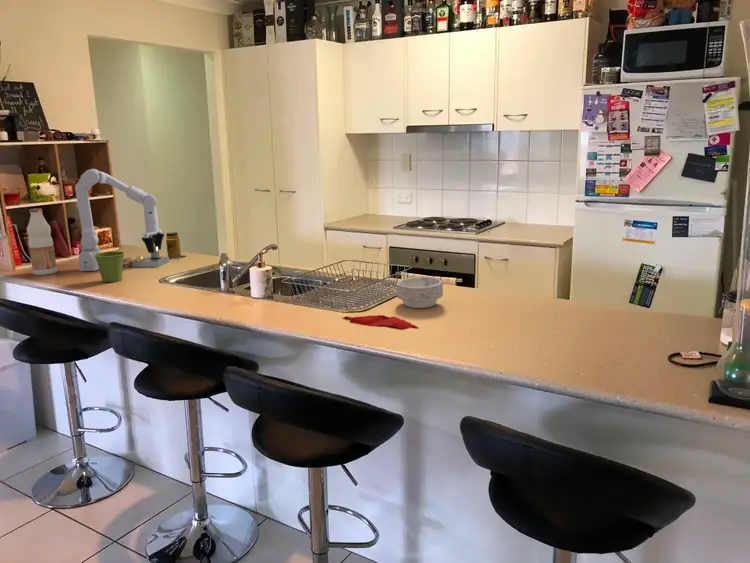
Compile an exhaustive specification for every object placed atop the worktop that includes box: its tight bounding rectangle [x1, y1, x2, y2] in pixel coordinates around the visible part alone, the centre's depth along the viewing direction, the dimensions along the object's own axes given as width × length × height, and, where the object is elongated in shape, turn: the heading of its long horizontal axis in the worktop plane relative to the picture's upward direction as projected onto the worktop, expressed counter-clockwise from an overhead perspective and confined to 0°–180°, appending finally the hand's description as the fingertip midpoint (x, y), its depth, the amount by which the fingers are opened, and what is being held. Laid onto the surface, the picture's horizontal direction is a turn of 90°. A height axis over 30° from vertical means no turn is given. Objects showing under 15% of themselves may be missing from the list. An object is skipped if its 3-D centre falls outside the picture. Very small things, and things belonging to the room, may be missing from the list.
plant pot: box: [94, 250, 126, 283], centre depth 255 cm, size 12×12×11 cm
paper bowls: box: [395, 276, 444, 309], centre depth 207 cm, size 15×15×8 cm
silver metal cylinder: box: [150, 245, 160, 260], centre depth 288 cm, size 4×4×8 cm
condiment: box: [165, 231, 187, 260], centre depth 303 cm, size 7×8×12 cm
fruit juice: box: [26, 208, 58, 276], centre depth 271 cm, size 9×9×28 cm
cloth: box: [341, 314, 420, 330], centre depth 189 cm, size 26×14×2 cm, turn 50°
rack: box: [122, 256, 137, 268], centre depth 289 cm, size 12×7×2 cm, turn 174°
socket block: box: [132, 256, 170, 268], centre depth 287 cm, size 12×12×2 cm
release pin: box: [135, 255, 144, 261], centre depth 284 cm, size 3×3×4 cm
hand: (154, 251), depth 288 cm, fingers open, 7 cm apart
